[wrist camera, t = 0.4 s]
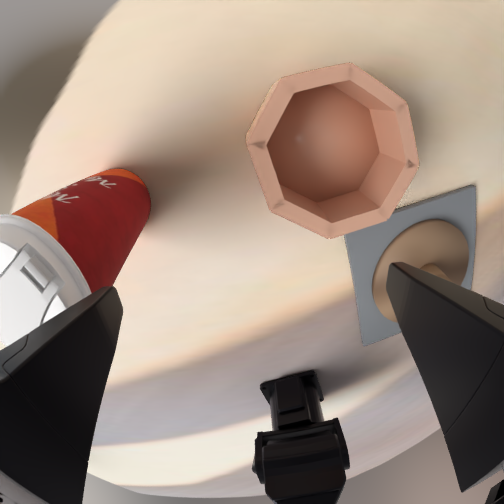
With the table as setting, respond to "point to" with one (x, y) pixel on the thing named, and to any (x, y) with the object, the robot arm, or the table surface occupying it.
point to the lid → (422, 257)
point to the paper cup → (67, 247)
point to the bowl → (333, 149)
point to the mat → (380, 236)
